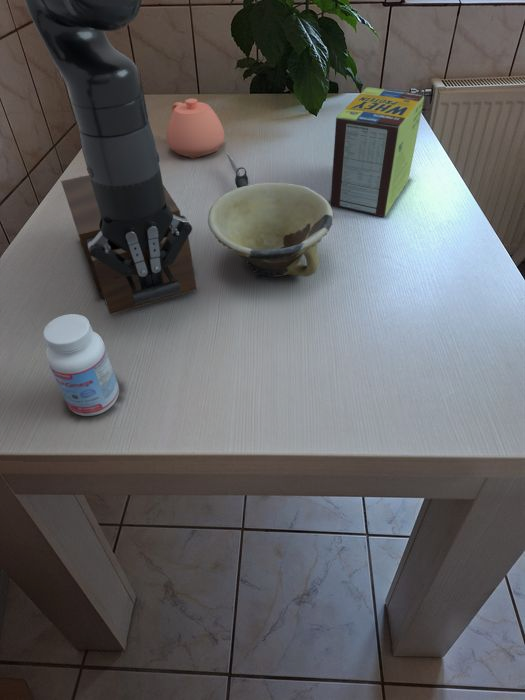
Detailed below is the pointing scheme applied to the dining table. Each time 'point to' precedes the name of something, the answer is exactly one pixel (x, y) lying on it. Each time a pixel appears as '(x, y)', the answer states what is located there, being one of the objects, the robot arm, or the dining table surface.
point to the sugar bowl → (194, 129)
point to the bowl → (272, 226)
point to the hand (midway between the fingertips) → (153, 293)
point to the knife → (238, 174)
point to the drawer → (127, 289)
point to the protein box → (374, 149)
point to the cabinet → (92, 214)
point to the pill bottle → (80, 365)
